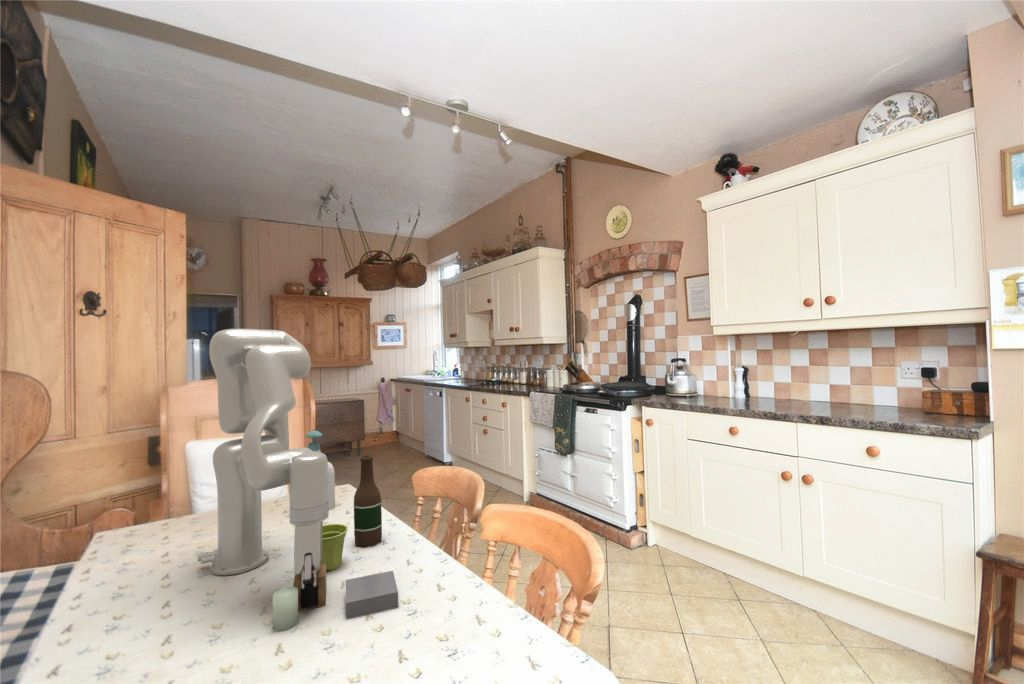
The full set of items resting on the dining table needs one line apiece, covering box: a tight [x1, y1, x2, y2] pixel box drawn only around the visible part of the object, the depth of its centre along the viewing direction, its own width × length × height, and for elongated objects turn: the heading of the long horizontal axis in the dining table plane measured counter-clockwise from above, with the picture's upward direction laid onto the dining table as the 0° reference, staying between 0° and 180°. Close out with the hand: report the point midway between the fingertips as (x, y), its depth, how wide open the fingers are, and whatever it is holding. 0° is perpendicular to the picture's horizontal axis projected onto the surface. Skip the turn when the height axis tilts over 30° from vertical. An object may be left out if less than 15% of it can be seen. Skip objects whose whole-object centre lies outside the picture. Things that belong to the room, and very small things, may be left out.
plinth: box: [345, 570, 399, 620], centre depth 93 cm, size 10×10×3 cm
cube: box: [292, 564, 328, 612], centre depth 94 cm, size 6×6×6 cm
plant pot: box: [320, 523, 349, 571], centre depth 110 cm, size 9×9×9 cm
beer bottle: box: [353, 454, 383, 549], centre depth 124 cm, size 8×8×24 cm
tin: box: [272, 586, 299, 632], centre depth 86 cm, size 4×4×6 cm
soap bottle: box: [305, 430, 336, 511], centre depth 151 cm, size 11×8×27 cm
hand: (310, 597), depth 94 cm, fingers closed on cube, 6 cm apart
